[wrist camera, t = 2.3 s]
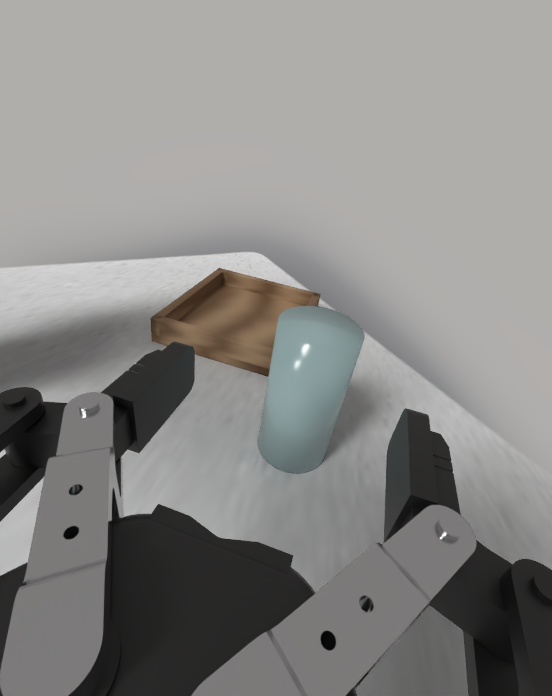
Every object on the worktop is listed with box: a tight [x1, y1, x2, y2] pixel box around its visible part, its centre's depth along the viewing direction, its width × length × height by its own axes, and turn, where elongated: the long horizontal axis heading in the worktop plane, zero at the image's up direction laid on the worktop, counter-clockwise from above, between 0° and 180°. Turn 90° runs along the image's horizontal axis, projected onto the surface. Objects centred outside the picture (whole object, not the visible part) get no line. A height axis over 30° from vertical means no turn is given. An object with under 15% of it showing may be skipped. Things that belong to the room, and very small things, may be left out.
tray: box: [151, 268, 320, 376], centre depth 45 cm, size 16×18×3 cm
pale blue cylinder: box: [258, 306, 364, 473], centre depth 27 cm, size 6×6×12 cm
